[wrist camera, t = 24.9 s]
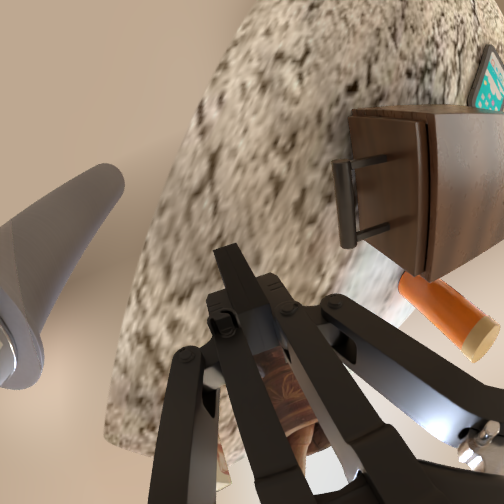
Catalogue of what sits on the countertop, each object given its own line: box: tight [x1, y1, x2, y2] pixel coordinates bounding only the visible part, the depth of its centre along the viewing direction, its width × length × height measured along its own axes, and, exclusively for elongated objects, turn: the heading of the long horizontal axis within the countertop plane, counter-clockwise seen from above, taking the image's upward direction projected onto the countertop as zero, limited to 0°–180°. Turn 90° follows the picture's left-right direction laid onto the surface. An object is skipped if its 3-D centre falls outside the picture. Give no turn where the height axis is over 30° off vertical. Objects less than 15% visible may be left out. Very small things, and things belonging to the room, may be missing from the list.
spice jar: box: [398, 271, 500, 363], centre depth 29 cm, size 5×5×15 cm
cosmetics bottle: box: [216, 434, 232, 492], centre depth 35 cm, size 5×4×10 cm
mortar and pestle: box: [253, 342, 331, 476], centre depth 26 cm, size 12×9×20 cm
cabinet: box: [352, 104, 504, 283], centre depth 23 cm, size 16×14×11 cm
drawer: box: [331, 115, 431, 277], centre depth 23 cm, size 19×12×9 cm, turn 102°
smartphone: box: [468, 45, 504, 112], centre depth 25 cm, size 9×1×15 cm
